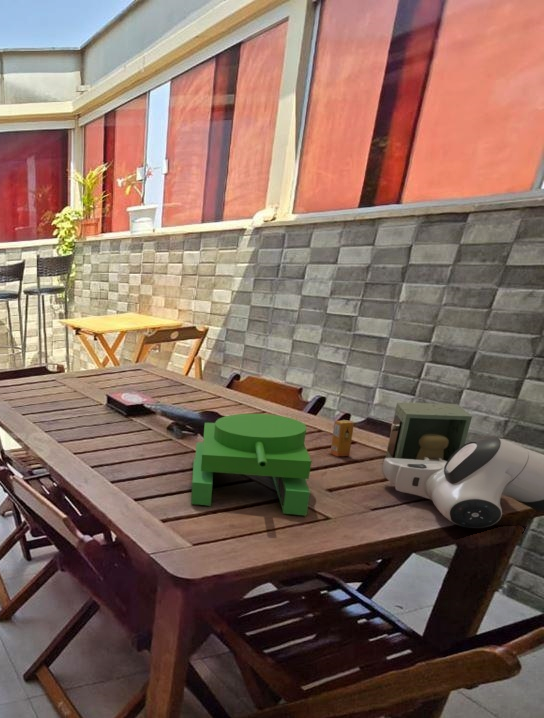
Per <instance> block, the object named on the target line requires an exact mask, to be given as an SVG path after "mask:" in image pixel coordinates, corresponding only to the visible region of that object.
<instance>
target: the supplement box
mask: <svg viewBox="0 0 544 718" xmlns="http://www.w3.org/2000/svg"><path fill="white" fill-rule="evenodd" d="M354 426H355V423H354V422H353V421H350V420H348V419H343V420H334V423H333V431H332V438H331V447H330V454H331V455H333V456H334V457H336V458H337V457H349V456H350V452H351V445H352V439H353V433H354Z"/></svg>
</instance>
